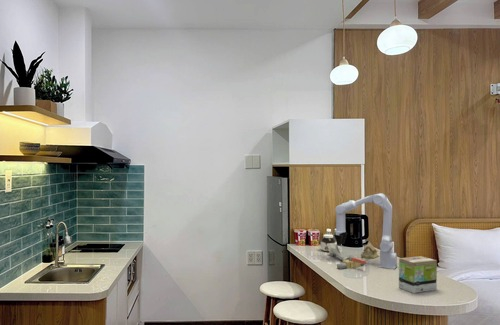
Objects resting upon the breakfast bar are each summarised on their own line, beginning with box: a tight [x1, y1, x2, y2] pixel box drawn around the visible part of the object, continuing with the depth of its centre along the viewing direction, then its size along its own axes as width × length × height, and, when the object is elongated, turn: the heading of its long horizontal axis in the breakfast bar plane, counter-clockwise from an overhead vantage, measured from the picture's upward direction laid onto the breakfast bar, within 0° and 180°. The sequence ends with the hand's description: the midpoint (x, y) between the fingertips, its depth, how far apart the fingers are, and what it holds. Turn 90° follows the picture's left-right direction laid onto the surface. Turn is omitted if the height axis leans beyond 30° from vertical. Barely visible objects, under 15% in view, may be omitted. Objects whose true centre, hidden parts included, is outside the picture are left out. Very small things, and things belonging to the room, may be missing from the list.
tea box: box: [398, 255, 438, 294], centre depth 182 cm, size 15×10×15 cm, turn 114°
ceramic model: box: [360, 241, 379, 259], centre depth 250 cm, size 14×11×10 cm
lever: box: [348, 255, 367, 265], centre depth 218 cm, size 12×3×2 cm, turn 30°
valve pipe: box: [336, 259, 366, 270], centre depth 222 cm, size 20×6×4 cm, turn 120°
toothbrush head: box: [329, 247, 349, 261], centre depth 242 cm, size 5×7×25 cm
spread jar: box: [320, 233, 341, 254], centre depth 265 cm, size 12×11×12 cm
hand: (340, 244), depth 238 cm, fingers open, 7 cm apart
